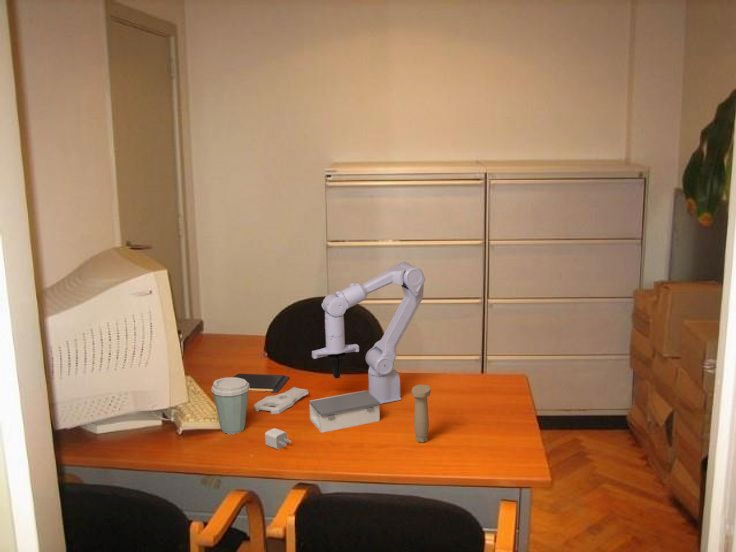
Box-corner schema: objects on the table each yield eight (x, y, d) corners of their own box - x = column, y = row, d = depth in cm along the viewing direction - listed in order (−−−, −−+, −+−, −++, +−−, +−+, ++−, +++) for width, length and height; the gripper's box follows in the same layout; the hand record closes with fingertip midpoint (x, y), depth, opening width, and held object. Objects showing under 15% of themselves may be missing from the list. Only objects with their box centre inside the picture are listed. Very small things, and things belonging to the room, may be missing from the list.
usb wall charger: (276, 440, 198) (275, 427, 197) (294, 447, 194) (293, 433, 193) (265, 446, 195) (264, 432, 194) (283, 452, 191) (282, 439, 190)
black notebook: (290, 373, 246) (276, 390, 231) (291, 378, 246) (277, 395, 232) (236, 371, 250) (218, 387, 235) (236, 376, 250) (219, 392, 236)
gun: (285, 381, 233) (310, 387, 228) (286, 391, 234) (311, 397, 229) (249, 403, 218) (275, 410, 213) (250, 414, 219) (276, 420, 214)
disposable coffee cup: (238, 419, 213) (235, 371, 209) (260, 429, 205) (257, 380, 202) (207, 430, 205) (203, 381, 202) (228, 441, 198) (225, 390, 195)
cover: (365, 392, 216) (365, 389, 216) (380, 405, 207) (380, 402, 207) (309, 403, 210) (309, 400, 209) (321, 416, 200) (321, 413, 200)
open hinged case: (366, 408, 218) (365, 393, 217) (380, 421, 208) (380, 405, 207) (310, 419, 211) (309, 403, 210) (322, 433, 201) (321, 417, 200)
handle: (410, 444, 193) (409, 392, 190) (415, 434, 199) (415, 384, 196) (427, 446, 192) (427, 394, 188) (432, 436, 197) (432, 385, 194)
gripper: (352, 327, 222) (353, 369, 225) (307, 334, 216) (309, 376, 219) (361, 333, 215) (362, 376, 218) (315, 340, 210) (317, 384, 213)
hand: (336, 377), depth 218 cm, fingers closed
